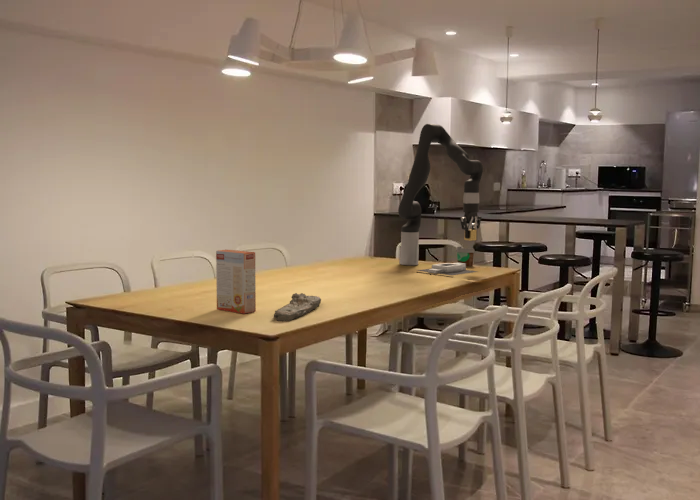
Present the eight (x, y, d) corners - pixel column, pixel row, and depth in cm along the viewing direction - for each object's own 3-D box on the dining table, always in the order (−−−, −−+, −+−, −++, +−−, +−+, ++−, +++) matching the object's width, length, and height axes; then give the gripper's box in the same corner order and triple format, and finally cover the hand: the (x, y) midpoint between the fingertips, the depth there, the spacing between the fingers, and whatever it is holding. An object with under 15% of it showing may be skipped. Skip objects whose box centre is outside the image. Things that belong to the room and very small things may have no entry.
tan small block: (464, 240, 347) (464, 229, 347) (469, 239, 350) (469, 229, 349) (471, 240, 344) (471, 230, 344) (476, 240, 347) (476, 229, 347)
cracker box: (256, 312, 249) (256, 251, 247) (243, 314, 244) (243, 253, 242) (229, 307, 258) (228, 248, 255) (216, 309, 253) (215, 250, 251)
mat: (416, 272, 351) (416, 270, 351) (443, 268, 365) (443, 267, 365) (451, 277, 335) (451, 275, 335) (478, 273, 349) (478, 271, 349)
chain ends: (424, 271, 346) (424, 265, 346) (454, 268, 361) (454, 262, 360) (439, 274, 339) (439, 267, 339) (469, 270, 354) (469, 263, 354)
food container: (450, 265, 378) (451, 246, 377) (460, 265, 380) (461, 246, 379) (463, 268, 367) (464, 249, 366) (474, 268, 369) (474, 248, 368)
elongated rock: (265, 325, 235) (294, 328, 233) (266, 309, 234) (295, 312, 232) (300, 301, 269) (326, 304, 266) (301, 287, 268) (327, 290, 265)
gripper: (474, 201, 353) (473, 236, 355) (455, 202, 343) (454, 238, 345) (486, 202, 347) (485, 237, 349) (468, 202, 338) (467, 239, 340)
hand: (470, 237), depth 347 cm, fingers closed on tan small block, 4 cm apart
